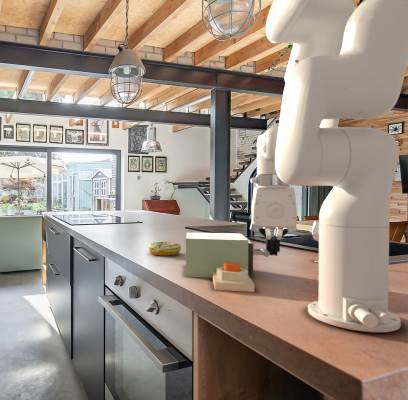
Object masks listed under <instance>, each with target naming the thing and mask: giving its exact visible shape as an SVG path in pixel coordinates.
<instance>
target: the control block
mask: <svg viewBox="0 0 408 400" xmlns="http://www.w3.org/2000/svg"><path fill="white" fill-rule="evenodd" d="M211 279H212V283H213V287H214V290H216V291H233V292H249V293H250V292H251V293H254V292H255V282H254V281H253V280H252V278H251V277H250V275H248V271H247V270H246V269H243V268H240V272H229V271H224V267H219V268H217V272H212V278H211Z"/></svg>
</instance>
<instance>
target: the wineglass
mask: <svg viewBox="0 0 408 400" xmlns="http://www.w3.org/2000/svg"><path fill="white" fill-rule="evenodd" d="M311 235H312V238H313V240H314V241H316V242H318V243H319V220H314V221H313V224H312V230H311ZM314 262H315V263H318V264H319V259H315V260H314Z"/></svg>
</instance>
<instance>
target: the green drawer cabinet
mask: <svg viewBox="0 0 408 400" xmlns="http://www.w3.org/2000/svg"><path fill="white" fill-rule="evenodd" d="M245 237H246V236H245V235H243V234H242V233H230V232H229V233H228V232H227V233H225V232H222V233H221V232H186V235H185V277H189V278H190V277H191V278H207V279H209V278H211V279H212V272H217V268H219V267H224V263H225V262H236V263H240V268H243V269H246V270H247V271H248V240H249V238H247V237H246V238H245Z"/></svg>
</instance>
